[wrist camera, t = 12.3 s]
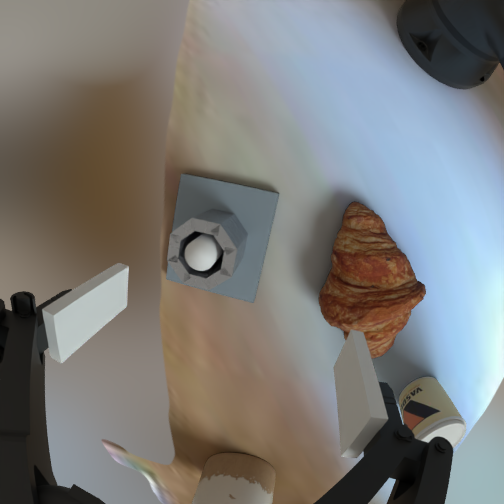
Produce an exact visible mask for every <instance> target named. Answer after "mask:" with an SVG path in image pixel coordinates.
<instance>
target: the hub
mask: <svg viewBox="0 0 504 504" xmlns="http://www.w3.org/2000/svg"><path fill="white" fill-rule="evenodd" d="M201 232H202V233H207V234H211V235H214V237H215V238H216V240H217V241H218V243H219V244H220V246H221V247H222V249H223V250H224V255H223V259H221V258H218V260H217V261H216V262H215V263H214V264H213V265H212V267H210V268H209V269H207V270H205V271H198V270H195V269H193V268H192V267H190V266H189V264H188V263H187V261H186V259H185V249H186V247H187V245H188V244H189V243H190V242H192V241H193V240H195V239H196V238H197V237H199V236H200V233H201ZM247 238H248V233H247V232H246V230H245V228H244V227H243V225H242V224H241V222H240V221H239V219H238V218H237V216H236V215H235V214H233V213H229V212H224V211H220V210H215V209H210V210H208V211H206V212H203V213H201V214H199V215H197V216H195V217H193V218H191V219H190V220H188V221H187V222H185V223H184V224H183V225H181V226H180V227H179V228H177V229H176V230H174V231H173V232H172V233H170V240H169V248H168V256H167V261H168V262H169V264H170V265H171V267H172V268H173V270H174V271H175V273H176V274H177V275H178V277H179V278H180V280H181V281H182V283H184V284H188V285H191V286H195V287H199V288H202V289H206V290H210V289H212V288H214V287H216V286H217V285H219V284H221V283H222V282H224V281H226V280H227V279H229V278H231V277H232V276H233V274H234V272H235V271H236V269H237V267H238V266H239V264H240V262H241V261H242V259H243V257H244V253H245V248H246V243H247Z"/></svg>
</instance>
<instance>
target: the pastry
mask: <svg viewBox="0 0 504 504" xmlns="http://www.w3.org/2000/svg"><path fill="white" fill-rule="evenodd" d="M331 261H332V269H331V271H330V273H329V275H328V278H327V280H326V283H325V285H324V286H323V288H322V289H321V291H320V293H319V304H320V306H321V312H322V315H323V316H324V318H325V320H326V321H327V322H328V323H329V324H330V325H331V326H335V327H337V328H340V329H341V330H343V331H344V338H345V340H347V337H348V335H349V333H350V330H356V331H360V332H363V333H364V336H365V339H366V342H367V345H368V349H369V352H370V355H371V358H372V359H373V358H376V357H379V356H382V355H383V354H385V353H386V352H387V351H388V350H389V349H390V348H391V347H392V345H393V344H394V340H395V337H396V335H397V333H398V332H399V331H400V330H402V329H403V327H404V326H405V325H406V323H407V321H408V319H409V316H410V315H411V310H412V309H413V308H414V307H415V306H416V305H417V304H418V303H419V302H420V301H422V300H423V299H424V298H423V297H424V296H425V294H426V290H425V285H424V284H422V283H421V282H419V281H417V279H416V277H415V273H414V272H413V270H412V268H411V265H410V262H409V260H408V259H407V257H406V255H405V254H404V253H402V252H401V250H400V249H398V248H397V245H396V242H394V241H393V240H392V239H391V237H390V236H389V235H388V233H387V231H386V228H385V224H384V222H383V221H382V219H381V218H380V217H379V215H377V214H375V213H374V211H372V210H370V209H368V208H367V207H366V206H364V205H363V204H360V203H359V202H352V203H351V204H350V205H349V207H348V208H347V209H346V211H345V214H344V216H343V222H342V227H341V229H340V231H339V232H338V233H337V238H336V239H335V242H334V246H333V252H332V255H331Z"/></svg>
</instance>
